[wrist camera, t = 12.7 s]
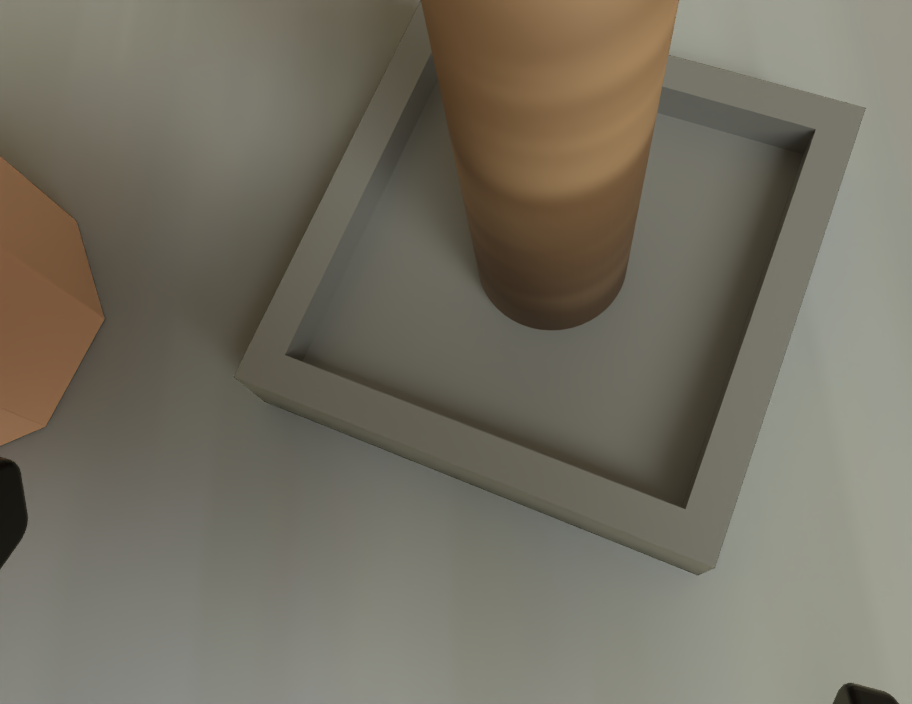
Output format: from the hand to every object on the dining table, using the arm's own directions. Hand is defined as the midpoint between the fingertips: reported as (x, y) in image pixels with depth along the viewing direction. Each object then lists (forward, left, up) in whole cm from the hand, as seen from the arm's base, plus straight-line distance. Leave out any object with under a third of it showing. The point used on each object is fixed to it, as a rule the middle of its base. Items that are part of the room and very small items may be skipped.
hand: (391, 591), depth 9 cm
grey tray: (+1, -7, -9) cm, 12 cm away
